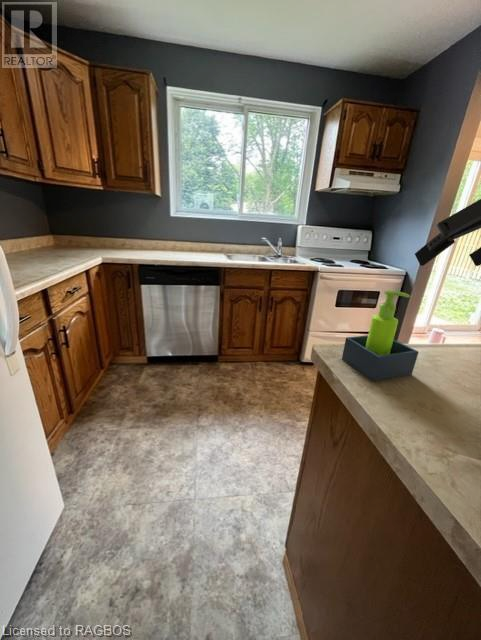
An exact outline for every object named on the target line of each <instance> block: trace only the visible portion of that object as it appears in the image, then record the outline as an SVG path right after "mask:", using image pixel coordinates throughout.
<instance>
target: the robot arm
mask: <svg viewBox="0 0 481 640" xmlns="http://www.w3.org/2000/svg"><path fill="white" fill-rule="evenodd" d="M436 227H437V229H438V231H439V233H438V234H437V235H436V236H433V238H432V239H430V240H429V241H428V242H427V243H426V244H425V245H424V246H422V247H421V248H420V249H418V250H417V251H416V252H415V253H414V256H415V258H416V260H417V262H418V263H419V266H421V267H422V266H423V267H424V266H425V265H426V264H428V263H429V262H430V261H432V260H433V259H435V258H437V257H438V256H439V255H440V254H442V253H443V252H444V251H446V250H447V249H448V248H449V247H451V246H452V245H453V244H455V243H456V241H455V240H456V239H458V238H461V237H464V236H466V235H468V234H471V233H473V232H475V231H478V230H480V229H481V198H480V199H478V200H476V201H474V202H473V203H471V204H469V205H467V206H465V207H464V208H462V209H460V210H458V211H457V212H455V213H453V214H452V215H450V216H448V217H446V218H444V219H443V220H441V221H440V222H438V223H437V224H436ZM469 257H470V259H471V261H472V263H473V264H474V266H475V267H479V266H481V246H480V247H478V248H477V249H476V250H474V251H472V252H471V253H470V254H469Z"/></svg>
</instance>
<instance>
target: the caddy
mask: <svg viewBox="0 0 481 640" xmlns="http://www.w3.org/2000/svg"><path fill="white" fill-rule="evenodd" d="M367 338H368V334H365V335H358V336H357V335H355V336H348V337H345V341H344V346H343V350H342V354H341V355H342V356H341V360H342V361H343V362H345V363H346V364H348V365H349V366H351V367H352V368H354V369H355V370H356V371H358V373H360V374H361V375H363V376H364V377H366V378H367V379H369V380H370V381H371V382H378V381H383V380H389V379H395V378H401V377H406V376H407V377H408V376H412V375H413V373H414V369H415V365H416V363H417V362H416V361H417V359H418V355H419V350H416V349H414V348H412V347H411V346H408V345H406V344H404V343H402V342H400V341H398V340H396V339H394V340H393V344H392V347H391V351H390V354H386V355H377V354H375V353H374V352H372V351H370V350H369V349H367V348H365V347H366V343H367Z"/></svg>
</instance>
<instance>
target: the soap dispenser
mask: <svg viewBox="0 0 481 640" xmlns="http://www.w3.org/2000/svg"><path fill="white" fill-rule="evenodd" d="M384 295H385V296H386V297H385V302H382V303H380V305H379V306H380V307H379V310H378V314H373V315H371V321H370V326H369V330H368V334H367V335H368V338H367V343H366V347H365V348H367V349H369V350H370V351H372V352H374V353H375V354H377V355H386V354H390V351H391V347H392V344H393V340H395V335H396V332H397V328H398V325H399V319H398V318H396V317H395V312H396V309H397V305H396V304H395V303H394V301H395V297H396V296H397V297H399V296H400V297H404V298H407V299H409V298H411V297H412V296H411V295H410V294H408V293H406V292H402V291H397V290H384Z"/></svg>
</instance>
